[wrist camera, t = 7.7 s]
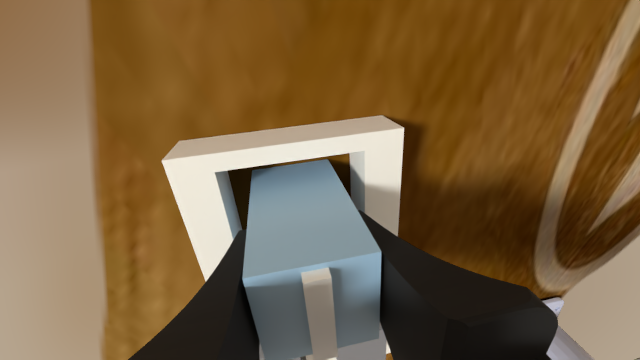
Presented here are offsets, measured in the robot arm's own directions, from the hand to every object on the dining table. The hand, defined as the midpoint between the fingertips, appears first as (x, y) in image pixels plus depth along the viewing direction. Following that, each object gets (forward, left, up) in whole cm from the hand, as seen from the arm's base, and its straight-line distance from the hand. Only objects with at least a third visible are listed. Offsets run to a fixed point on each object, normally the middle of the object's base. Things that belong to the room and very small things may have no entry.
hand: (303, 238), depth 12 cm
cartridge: (0, 0, -4) cm, 4 cm away
